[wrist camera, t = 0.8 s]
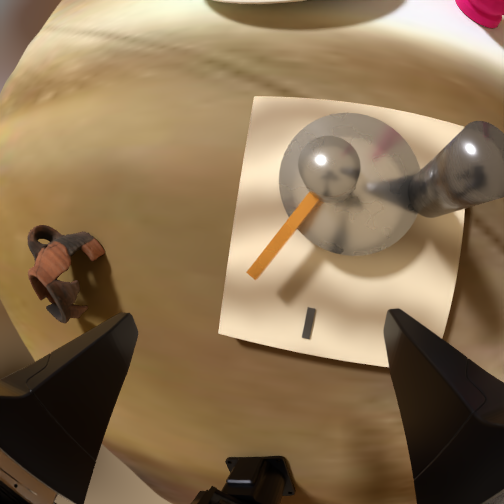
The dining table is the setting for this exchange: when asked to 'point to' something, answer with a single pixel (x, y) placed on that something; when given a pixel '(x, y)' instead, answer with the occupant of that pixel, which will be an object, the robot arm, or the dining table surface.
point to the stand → (328, 263)
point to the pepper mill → (483, 11)
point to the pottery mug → (58, 268)
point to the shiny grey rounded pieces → (377, 183)
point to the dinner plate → (257, 1)
